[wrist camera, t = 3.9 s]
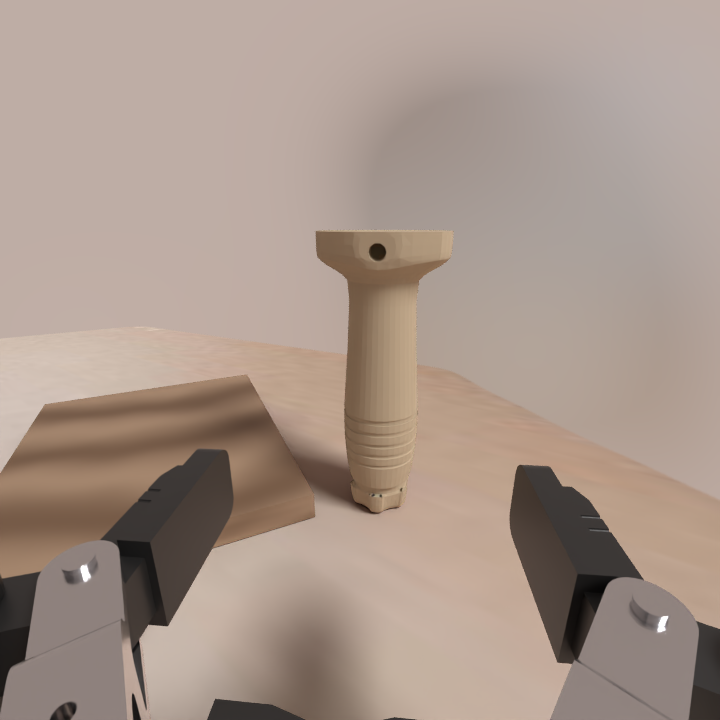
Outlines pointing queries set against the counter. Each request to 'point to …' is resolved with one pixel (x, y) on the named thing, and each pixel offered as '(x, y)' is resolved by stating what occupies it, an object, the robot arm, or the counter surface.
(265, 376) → the counter surface
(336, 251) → the handle
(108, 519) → the walnut board
